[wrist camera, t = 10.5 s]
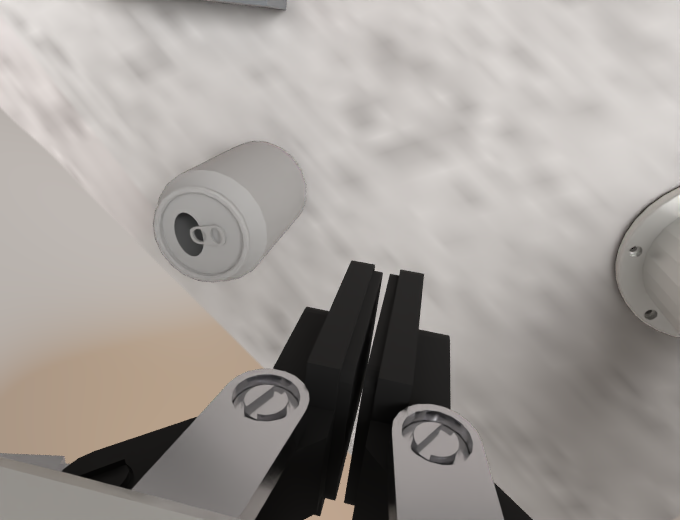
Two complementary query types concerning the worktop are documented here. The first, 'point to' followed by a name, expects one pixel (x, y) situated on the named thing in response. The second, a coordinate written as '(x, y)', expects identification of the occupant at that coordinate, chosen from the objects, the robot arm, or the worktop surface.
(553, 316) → the worktop surface
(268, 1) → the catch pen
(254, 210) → the can
